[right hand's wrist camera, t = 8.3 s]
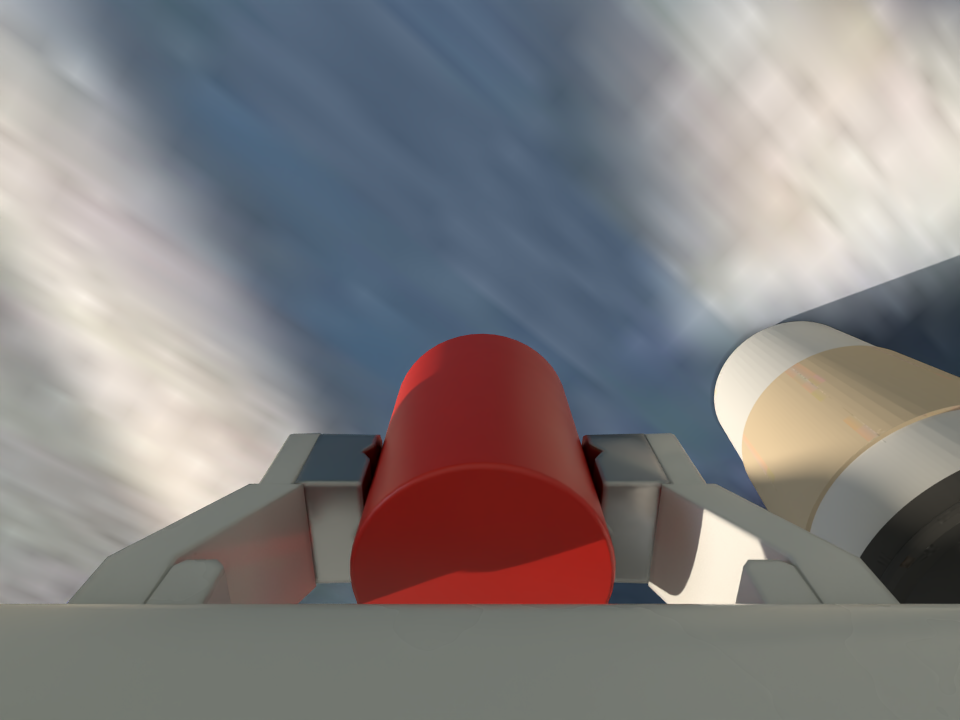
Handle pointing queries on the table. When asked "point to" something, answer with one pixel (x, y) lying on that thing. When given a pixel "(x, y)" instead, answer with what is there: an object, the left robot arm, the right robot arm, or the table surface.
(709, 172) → the table surface
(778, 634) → the right robot arm
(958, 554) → the coffee cup
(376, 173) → the table surface
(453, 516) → the canister
